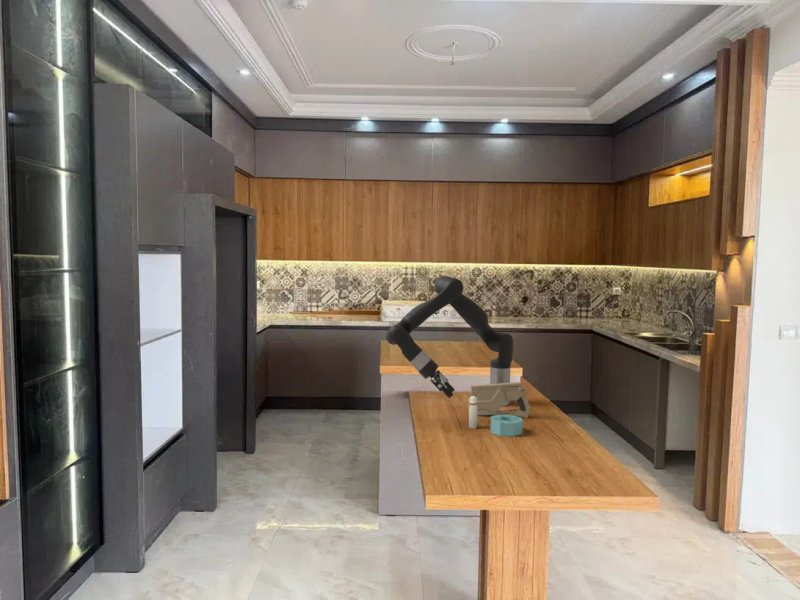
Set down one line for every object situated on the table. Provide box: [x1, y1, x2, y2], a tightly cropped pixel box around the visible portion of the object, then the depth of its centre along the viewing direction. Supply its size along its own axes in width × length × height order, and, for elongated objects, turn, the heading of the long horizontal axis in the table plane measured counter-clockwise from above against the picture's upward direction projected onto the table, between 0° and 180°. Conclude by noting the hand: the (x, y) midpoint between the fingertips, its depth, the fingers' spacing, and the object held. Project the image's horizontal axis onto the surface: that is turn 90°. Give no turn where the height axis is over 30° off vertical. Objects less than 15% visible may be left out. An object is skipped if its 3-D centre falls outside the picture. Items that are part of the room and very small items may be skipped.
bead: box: [490, 414, 524, 437], centre depth 221 cm, size 12×12×5 cm
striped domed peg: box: [468, 395, 478, 429], centre depth 226 cm, size 3×3×13 cm
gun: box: [470, 381, 532, 419], centre depth 243 cm, size 24×3×15 cm, turn 84°
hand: (452, 393), depth 227 cm, fingers open, 8 cm apart
